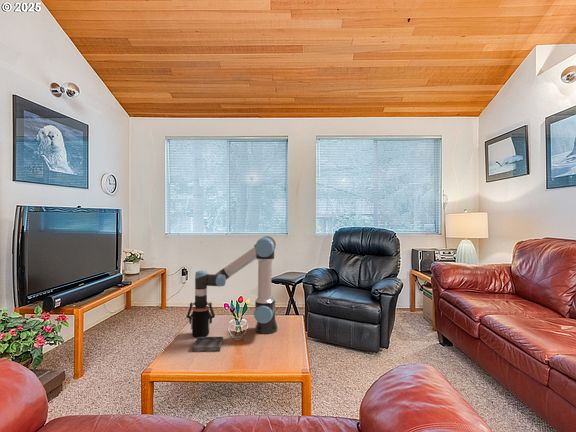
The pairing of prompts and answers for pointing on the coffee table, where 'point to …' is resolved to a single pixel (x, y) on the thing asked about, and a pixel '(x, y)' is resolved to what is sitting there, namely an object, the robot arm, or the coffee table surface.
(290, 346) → the coffee table surface
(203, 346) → the jar stand
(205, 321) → the coffee jar
